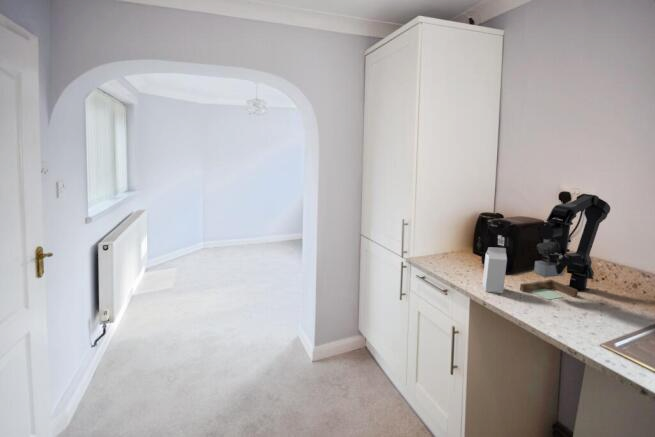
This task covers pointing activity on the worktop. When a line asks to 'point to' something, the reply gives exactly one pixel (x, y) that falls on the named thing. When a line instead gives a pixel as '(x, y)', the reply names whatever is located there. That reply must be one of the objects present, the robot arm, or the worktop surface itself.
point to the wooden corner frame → (549, 284)
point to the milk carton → (494, 270)
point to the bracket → (547, 269)
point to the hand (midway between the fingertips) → (555, 272)
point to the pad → (547, 294)
